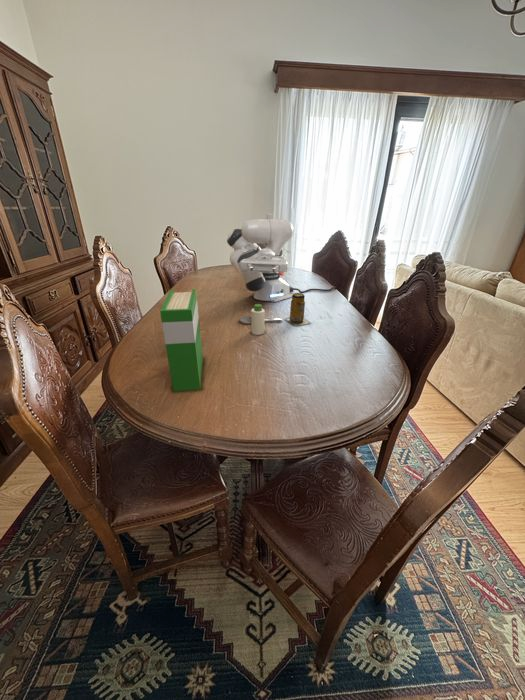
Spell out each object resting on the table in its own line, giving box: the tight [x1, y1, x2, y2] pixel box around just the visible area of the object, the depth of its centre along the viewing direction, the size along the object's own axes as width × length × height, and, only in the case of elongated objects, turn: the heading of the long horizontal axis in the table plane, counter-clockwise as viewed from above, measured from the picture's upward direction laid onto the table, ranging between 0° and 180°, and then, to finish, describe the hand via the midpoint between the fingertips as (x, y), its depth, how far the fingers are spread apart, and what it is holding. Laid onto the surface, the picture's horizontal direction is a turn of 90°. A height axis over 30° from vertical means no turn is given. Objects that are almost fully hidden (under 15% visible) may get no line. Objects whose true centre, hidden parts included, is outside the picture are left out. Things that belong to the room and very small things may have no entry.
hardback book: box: [159, 288, 204, 392], centre depth 83 cm, size 18×7×24 cm, turn 8°
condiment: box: [285, 292, 310, 326], centre depth 124 cm, size 7×8×12 cm
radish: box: [250, 303, 266, 336], centre depth 113 cm, size 5×5×12 cm
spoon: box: [239, 316, 283, 325], centre depth 125 cm, size 18×6×1 cm, turn 90°
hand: (262, 269), depth 116 cm, fingers open, 8 cm apart
